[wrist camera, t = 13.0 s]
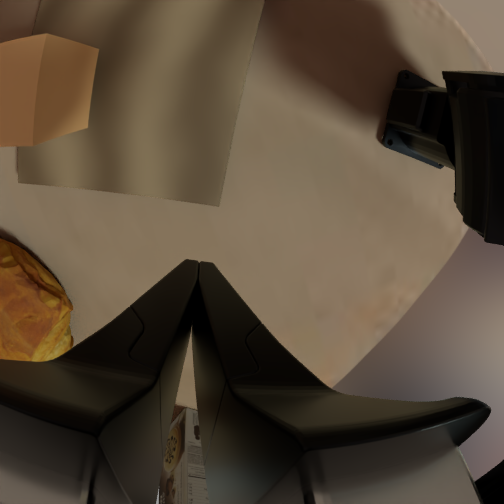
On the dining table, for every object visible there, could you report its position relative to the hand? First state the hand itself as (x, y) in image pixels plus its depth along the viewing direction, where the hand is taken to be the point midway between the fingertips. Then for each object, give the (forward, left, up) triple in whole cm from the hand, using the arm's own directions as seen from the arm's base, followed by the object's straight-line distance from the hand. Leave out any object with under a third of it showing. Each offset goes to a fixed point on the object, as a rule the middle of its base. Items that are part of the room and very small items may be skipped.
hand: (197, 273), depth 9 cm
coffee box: (-2, +33, -13) cm, 36 cm away
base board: (+7, -8, -13) cm, 17 cm away
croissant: (+18, +15, -13) cm, 27 cm away
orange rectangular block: (+11, -5, -11) cm, 16 cm away
